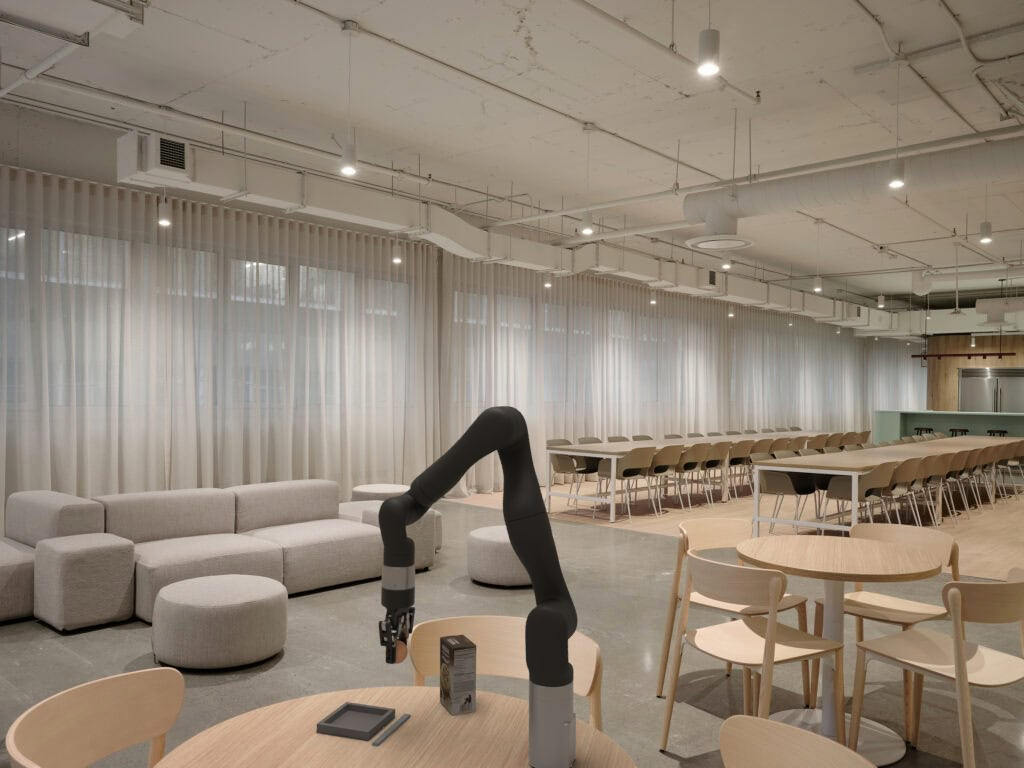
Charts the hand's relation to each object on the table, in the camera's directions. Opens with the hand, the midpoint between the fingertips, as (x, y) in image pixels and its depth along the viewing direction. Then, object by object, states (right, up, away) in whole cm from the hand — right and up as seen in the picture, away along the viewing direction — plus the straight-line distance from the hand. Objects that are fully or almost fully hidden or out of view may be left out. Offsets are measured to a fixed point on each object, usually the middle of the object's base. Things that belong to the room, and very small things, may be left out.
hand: (396, 658), depth 174 cm
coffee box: (+13, -17, +13) cm, 25 cm away
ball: (0, +2, 0) cm, 2 cm away
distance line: (-1, -16, 0) cm, 16 cm away
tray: (-10, -16, +3) cm, 19 cm away
